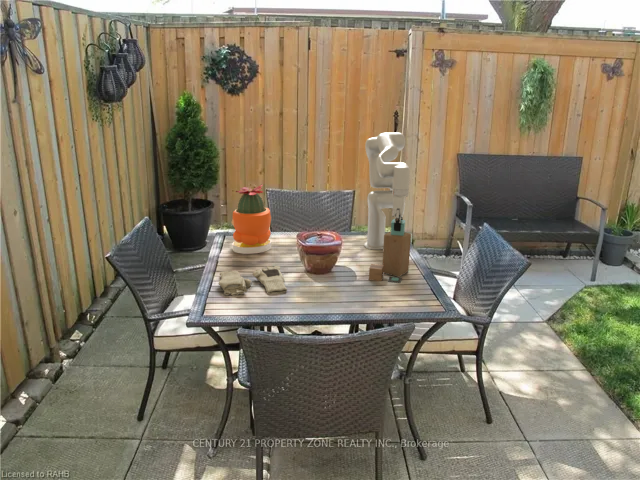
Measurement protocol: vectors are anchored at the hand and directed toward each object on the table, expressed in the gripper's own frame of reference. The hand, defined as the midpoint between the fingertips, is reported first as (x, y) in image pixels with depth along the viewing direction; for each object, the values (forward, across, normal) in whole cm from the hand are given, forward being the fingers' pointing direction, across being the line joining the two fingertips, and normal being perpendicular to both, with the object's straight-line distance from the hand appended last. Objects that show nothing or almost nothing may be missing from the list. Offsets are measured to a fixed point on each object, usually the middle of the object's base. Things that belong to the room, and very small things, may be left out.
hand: (398, 228), depth 257 cm
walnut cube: (+23, +10, -8) cm, 26 cm away
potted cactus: (+23, -12, -78) cm, 82 cm away
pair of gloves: (+23, +33, -62) cm, 74 cm away
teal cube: (+3, 0, 0) cm, 3 cm away
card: (+23, +10, +1) cm, 25 cm away
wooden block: (+23, 0, 0) cm, 23 cm away
